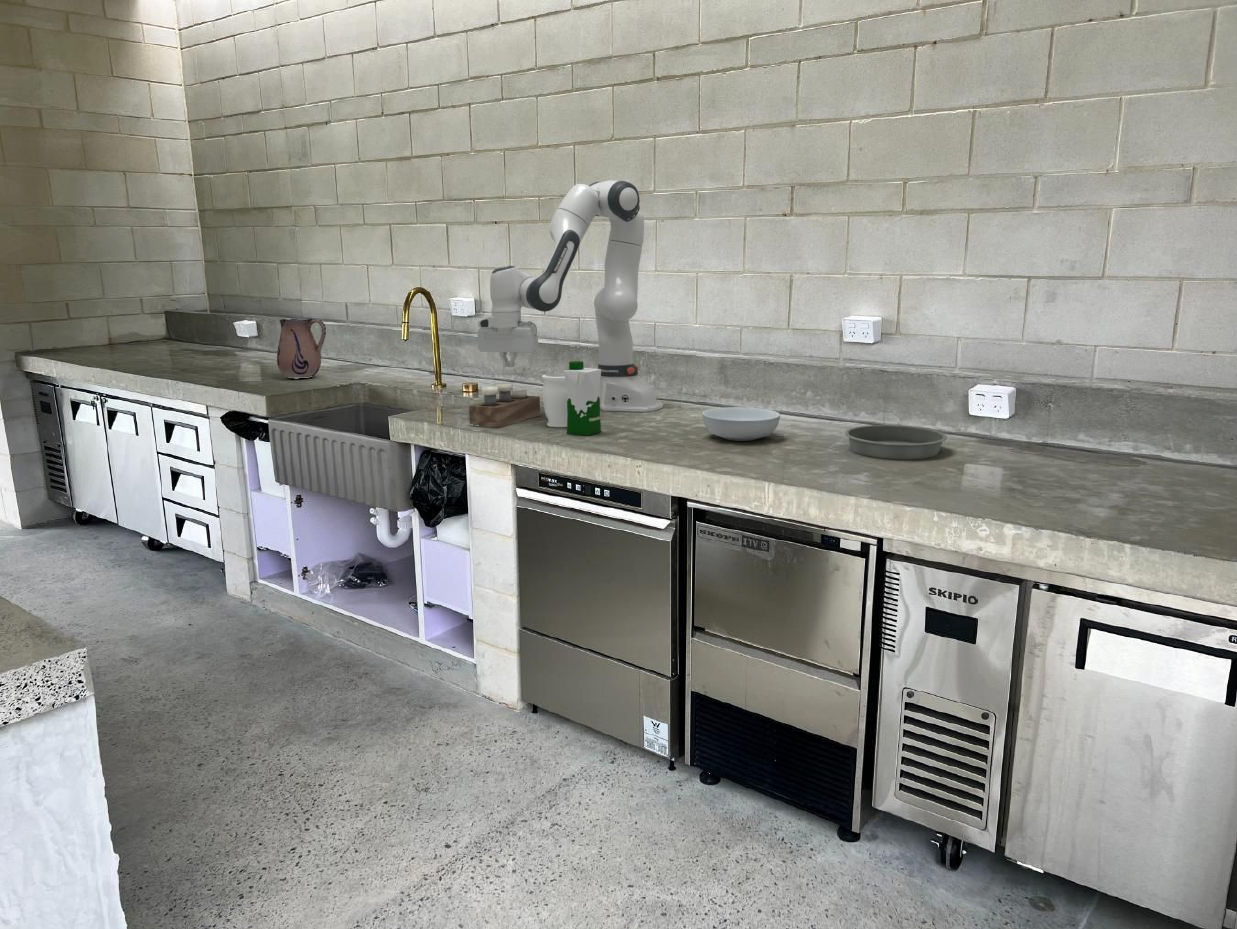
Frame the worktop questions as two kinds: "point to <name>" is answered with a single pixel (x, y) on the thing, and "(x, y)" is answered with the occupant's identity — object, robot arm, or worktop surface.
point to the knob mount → (504, 412)
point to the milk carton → (583, 399)
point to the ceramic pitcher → (299, 348)
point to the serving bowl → (741, 422)
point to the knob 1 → (490, 395)
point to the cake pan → (895, 441)
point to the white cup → (555, 399)
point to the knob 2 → (519, 393)
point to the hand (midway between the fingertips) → (509, 366)
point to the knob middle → (505, 392)
